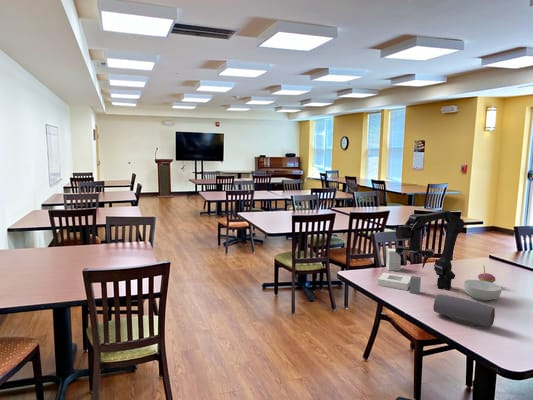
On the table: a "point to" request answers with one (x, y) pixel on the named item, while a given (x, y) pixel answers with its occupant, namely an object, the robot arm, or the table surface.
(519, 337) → the table surface
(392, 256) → the white rectangular block
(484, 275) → the cupcake
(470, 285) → the cereal bowl
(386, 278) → the square frame
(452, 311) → the bluetooth speaker
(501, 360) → the table surface
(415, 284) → the dark grey square post
